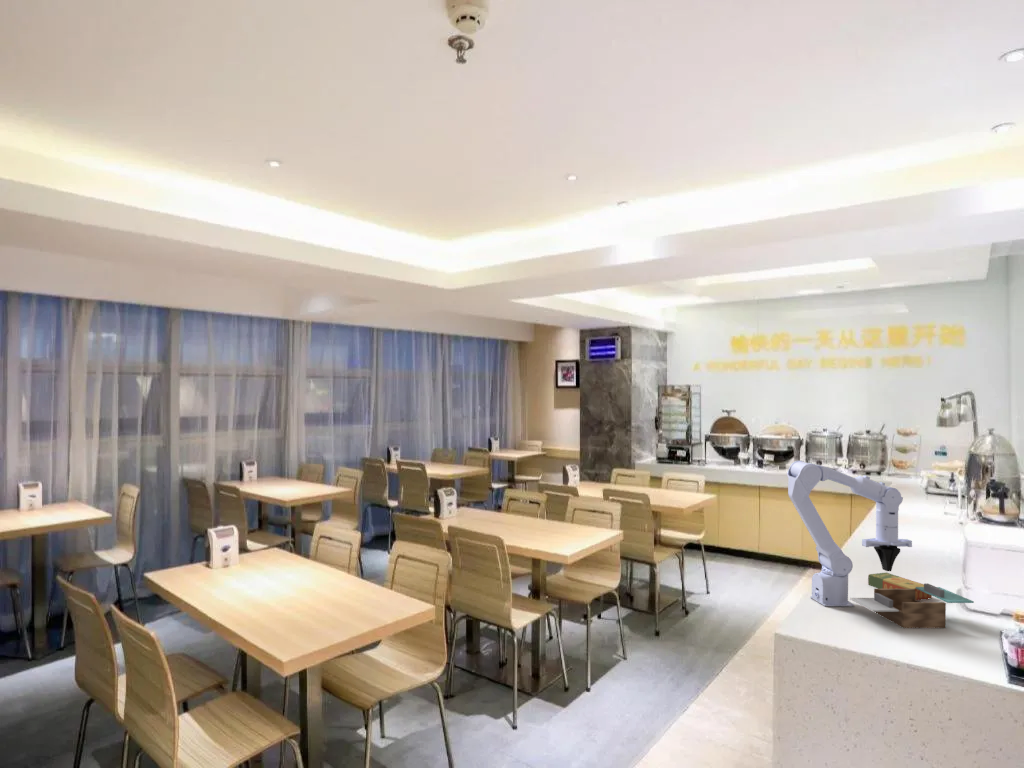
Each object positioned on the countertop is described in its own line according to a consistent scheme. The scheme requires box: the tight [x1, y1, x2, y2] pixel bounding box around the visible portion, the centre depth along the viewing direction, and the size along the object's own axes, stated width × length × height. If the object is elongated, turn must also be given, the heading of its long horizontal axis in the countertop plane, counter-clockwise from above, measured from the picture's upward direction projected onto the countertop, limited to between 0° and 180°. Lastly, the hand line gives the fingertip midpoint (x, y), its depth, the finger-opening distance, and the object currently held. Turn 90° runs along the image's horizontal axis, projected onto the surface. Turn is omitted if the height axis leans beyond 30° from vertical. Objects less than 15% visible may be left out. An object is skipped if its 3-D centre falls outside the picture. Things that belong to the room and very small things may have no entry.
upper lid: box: [916, 583, 975, 604], centre depth 167 cm, size 7×12×2 cm, turn 3°
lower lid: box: [849, 592, 899, 613], centre depth 166 cm, size 7×10×2 cm
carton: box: [867, 571, 933, 601], centre depth 191 cm, size 8×16×4 cm, turn 17°
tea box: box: [873, 588, 947, 629], centre depth 167 cm, size 12×12×7 cm
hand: (886, 570), depth 179 cm, fingers closed
